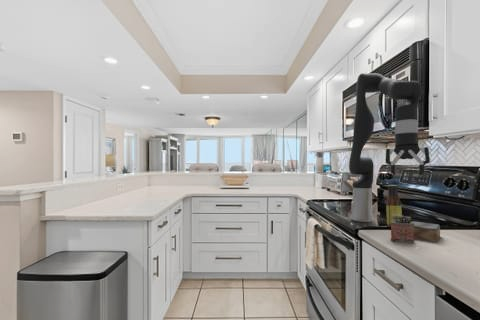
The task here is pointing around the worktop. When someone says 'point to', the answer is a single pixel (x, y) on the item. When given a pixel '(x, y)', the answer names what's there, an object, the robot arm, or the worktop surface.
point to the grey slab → (426, 231)
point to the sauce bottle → (393, 204)
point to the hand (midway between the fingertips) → (407, 175)
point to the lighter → (402, 230)
